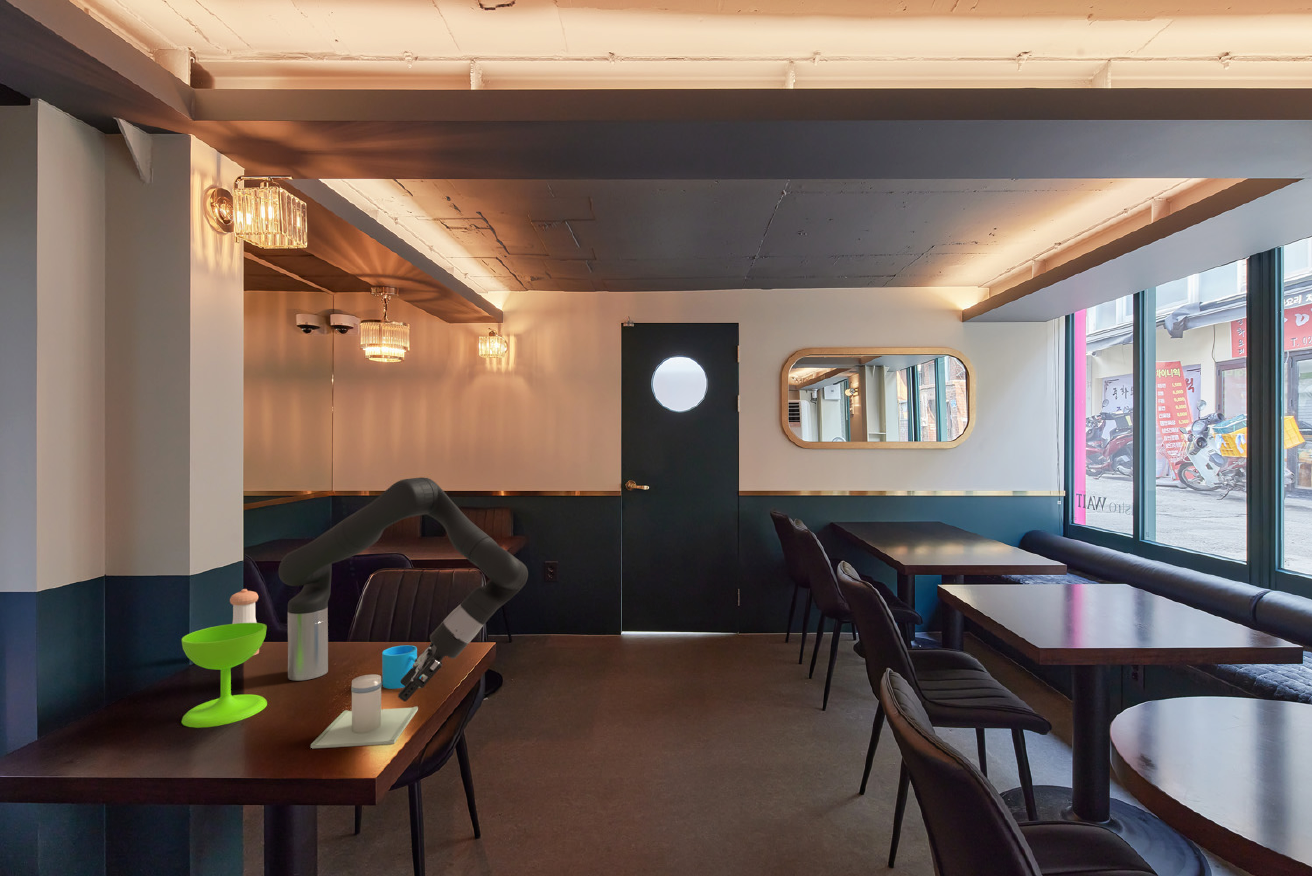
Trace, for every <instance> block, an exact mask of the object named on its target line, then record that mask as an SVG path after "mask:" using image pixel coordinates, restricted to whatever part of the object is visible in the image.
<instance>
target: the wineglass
mask: <svg viewBox="0 0 1312 876" xmlns="http://www.w3.org/2000/svg"><path fill="white" fill-rule="evenodd" d="M267 629H268V628H267V624H265V623H261V622H257V623H236V624H232V623H229V624H221V625H217V626H211V627H207V628H202V629H200V630H196V631H193V632H190V633H188V634H186V635H184V636H182V638H181V645H182V650H183V652H184V653H185V656H186V657H187V658H188V659H189V660H191V662H192V663H194V664H195V665H196V666H198V667H200V668H204V669H206V670H207V669H208V670H220V696H219V698H216V699H211V700H209V701H205V702H203V703H201V704H198V705H196V706H194V707H193V708H191V709H190V710H188V711H187V712H186V713H184V715H183V716H182V719H181V724H182V725H183V726H185V727H188V728H195V729H196V728H197V729H199V728H211V727H219V726H223V725H228V724H233V723H236V722H240V721H242V720H245V719H247V718H251V717H252V716H254V715H256V714H258V713H260V712H261V711H263V710H264V709H265V708H266V707H267V706H268V701H267V699H266V698H264V697H263V696H262V695H258V694H233V695H232V690H231V689H232V684H231V682H232V681H231V680H232V675H231V672H232V671H231V669H232V668H234V667H237V666H239V665H241V664H243V663H245V662H246V661H248V660H250V658H252V657H253V655H254V654H255V653H256V652H257V650H258V649H259V650H260V648H261V647H262V645H263V643H264V640H265V638H266V637H267V636H266V635H267ZM254 656H255V655H254Z"/></svg>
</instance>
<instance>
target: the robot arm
mask: <svg viewBox="0 0 1312 876" xmlns="http://www.w3.org/2000/svg"><path fill="white" fill-rule="evenodd" d="M424 515H427V516H430V517H431V518H433V519H434V520H436V521H438V522H439V523H440V524H441V525H442V526H443V528H444V530H445V532H446V534H447V536H448V539H449V541H450V543H451V545H452V546H453V548H454V549H455V550H456V551H457V552H458V553H460V555H462V556H463V557H464V558H465V559H466V560H468V561H469V562H470V563H472V564H473V565H475V566H476V567H478V569H480V571H481V572H482V573H484V575H485V576H486V577H487V578H488V579H490V580H489V581H488V582H487V583H486V584H484V585H483V586H477V587H475V588H474V589H473V590H472V591H470V593H469V594H468V595H467V596H466V597H465V598H464V600H462V602H461V603H460V604H458V606H457V607H456V608H454V609H453V610H452V611H451V612H450V613H449V614H448V615H447V616H446V618H444V619H443V621H442V622H441V623H440V624H439V625H438V626H437V628H435V630H434V631H432V633H430V635H429V640H430V644H429V645H428V646H427V647H426V648H425V649H424V650H423V651H422V652H421V654H419V655H418V656H417V658H416V660H415V663H414V664H413V666H412V667H413V668H411V669H410V670H409V671H408V672H407V674H406V675H405V676H404V677H403V678H402V679H401V684H403V685H404V686H405V687H403V688H401V690H400V691H399V693H398V695H397V697H398V699H400V700H401V701H403V702H408V700H409V699H410V698H411V697H412V696H413V695H414V693H416V691H417V690H418V689H423V688H424V687H426V685H427V684H428V683H429V681H431V679H432V678H433V677H434V676H435V674H437V672H438V671H439V670H440V669H441V668H442V666H443V662H442V661H443V660H444V658H445V657H448V658H449V659H457V658H458V656H459V655H460V654H461V653H462V652H463V651H464V649H465V648H466V647H467V646H468V645H469V644H470V643H471V642H472V640H473V639H475V637H477V635H478V633H479V632H480V630H481V629H482V628H483V627H484V625H485V624H486V623H487V622H488V621H489V620H490V618H492V616H493V615H494V614H495V613H496V612H497V610H498V609H499V608H501V607H502V606H503V605H505V604H506V603H507V602H509V601H510V600H511V599H512V598H514V596H515V595H517V594H518V593H519V592H520V590H522V589H523V587H524V586H525V585H526V584H527V580H528V577H529V571H528V568H527V566H526V564H524V563H523V562H522V561H521V560H520V559H518V558H516V557H515V556H514V555H512V554H511V553H510V552H509V551H507V550H506V549H504V548H503V547H502V546H500V545H499V544H498V543H497V542H496V540H494V539H493V538H492V537H491V536H490V535H488V534H487V533H486V532H484V530H482V529H481V528H479V527H478V526H477V525H476V524H475V523H474V522H472V521H471V520H470V519H469V518H468V517H467V516H466V515H465V514H464V513H463V512H462V511H461V510H460V508H459V507H458V506H457V504H455V503H454V502H453V500H451V498H450V497H449V496H448V495H447V493H446V492H445V490H443V489H442V487H440V486H439V484H437V482H436V481H434V480H433V479H432V478H429V477H425V476H424V477H423V476H422V477H412V478H405V479H400V480H398V481H396V482H395V483H393V484H392V485H390V486H389V487H388V488H387V489H386V490H385V491H383V492H382V493H381V494H380V495H378V497H377V498H376V499H374V500H372V501H371V502H370V503H368V504H367V505H365V506H364V507H362V508H360V509H359V510H357V511H356V512H354V513H352V514H351V515H348V516H347V517H346V518H344V519H342V520H341V521H340V522H338V523H337V524H336V525H334V526H332V527H331V528H329V529H328V530H326V531H325V532H324V533H322V534H321V535H319V536H318V537H317V538H315V539H314V540H312V541H311V542H308V543H307V544H305V545H302V546H301V547H299V548H296V549H294V550H292V551H291V552H288V553H287V554H286V555H285V556H284V557H283V558H282V559H281V562H279V567H278V576H279V579H280V581H281V582H282V583H284V585H285V584H286V585H287V586H290V587H301V586H302V587H303V588H302V589H301V590H300V591H299V593H298V594H296V595H295V596H294V597H292V598H291V599H290V600H289V601H288V603H287V679H288V680H291V681H307V680H311V679H316V678H319V677H322V676H325V675H326V674H327V673H328V672H329V636H328V635H329V632H328V631H329V629H328V626H329V623H328V621H329V619H328V617H329V615H328V611H329V610H328V607H329V606H328V604H329V599H330V597H331V592H332V591H331V589H332V588H331V585H332V573H333V572H332V571H333V570H332V566H333V565H332V564H336V563H338V562H341V561H344V560H346V559H350V558H352V557H353V556H356V555H358V554H360V553H362V552H363V551H365V550H367V549H368V548H371V546H373V545H374V544H376V543H377V542H378V541H379V540H380V538H381V537H382V534H383V532H384V530H385V529H386V528H388V527H390V526H392V525H393V524H396V523H397V522H399V521H402V520H404V519H408V518H412V517H418V516H424ZM420 676H422V677H421V679H419V677H420Z"/></svg>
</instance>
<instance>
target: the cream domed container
mask: <svg viewBox="0 0 1312 876" xmlns="http://www.w3.org/2000/svg"><path fill="white" fill-rule="evenodd" d="M381 709H382V676H381V675H380V674H365V675H360V676H357V677H355V678H353V679H352V681H351V711H352V731H353V732H355V733H366V732H370V731H373V730H376V729H378V728H379V727H380V726H381Z"/></svg>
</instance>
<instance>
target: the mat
mask: <svg viewBox="0 0 1312 876" xmlns="http://www.w3.org/2000/svg"><path fill="white" fill-rule="evenodd" d="M418 710H419V707H418V706H414V707H400V708H398V707H397V708H383V709H382V708H381V726H380V727H379V728H378V729H376V730H373V731H370V732H366V733H355V732H353V731H352V710H347V709H346V710H345V709H344V710H343V711H342V713H340V714H339V715H338V717H336V718H335V719H334V720H333V721H332V722H331V724H329V725H328V726H327V727H326V728H325V729H324V731H323V732H322V733H320V734H319V735H318V737H316V738H315V740H313V742H312V743H311V744H310V749H311V748H312V749H326V748H341V747H342V748H344V747H359V746H361V747H362V746H375V745H376V746H377V745H394V744H396V741H398V738H400V736H401V735H402V733H403V732H404V730H405V729H406V727H407V726H408V725H409V723H410V722H411V720H412V719H413V718H414V716H415V715H416V713H417V712H418Z"/></svg>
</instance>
